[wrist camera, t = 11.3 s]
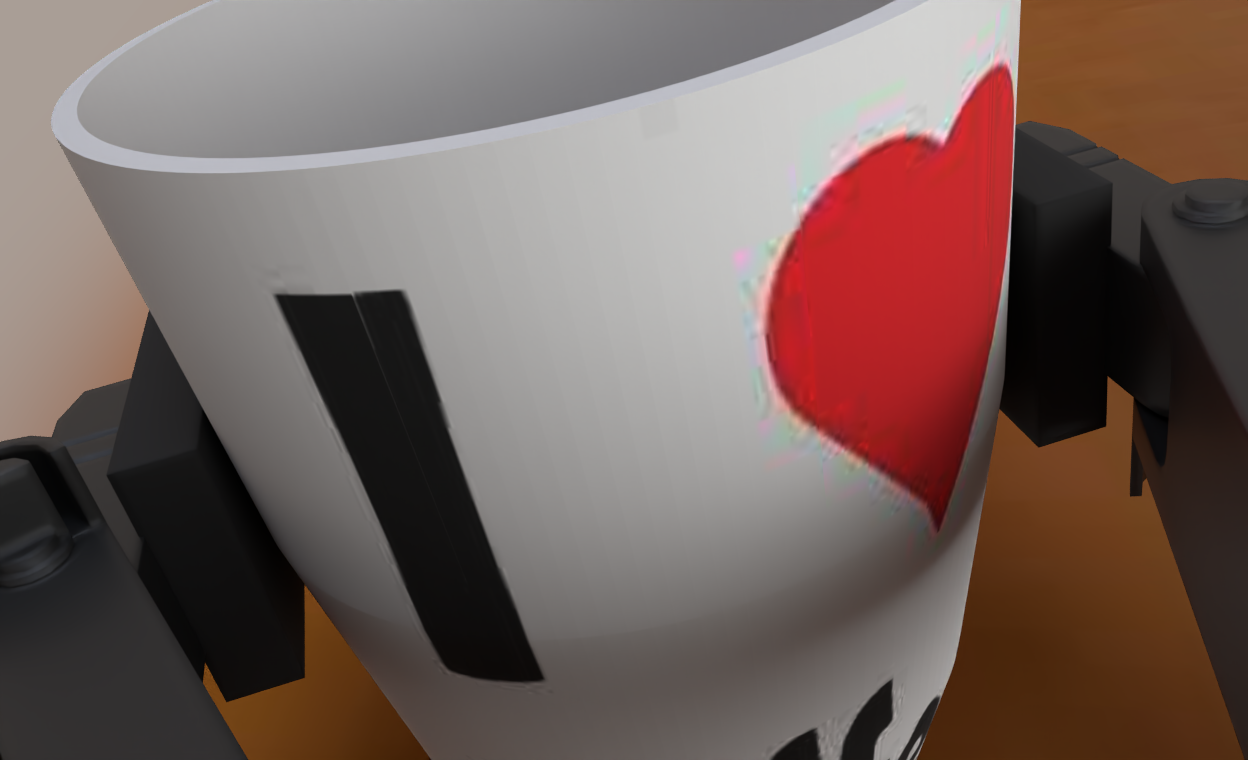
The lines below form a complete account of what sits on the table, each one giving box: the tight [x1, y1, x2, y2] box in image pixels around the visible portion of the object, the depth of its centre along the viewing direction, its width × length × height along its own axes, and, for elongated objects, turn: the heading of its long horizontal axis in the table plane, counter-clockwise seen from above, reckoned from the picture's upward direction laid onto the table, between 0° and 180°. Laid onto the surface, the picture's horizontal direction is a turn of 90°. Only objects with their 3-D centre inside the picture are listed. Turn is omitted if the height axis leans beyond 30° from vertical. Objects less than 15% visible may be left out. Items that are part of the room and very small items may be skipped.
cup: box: [51, 0, 1021, 760], centre depth 13 cm, size 8×8×10 cm
